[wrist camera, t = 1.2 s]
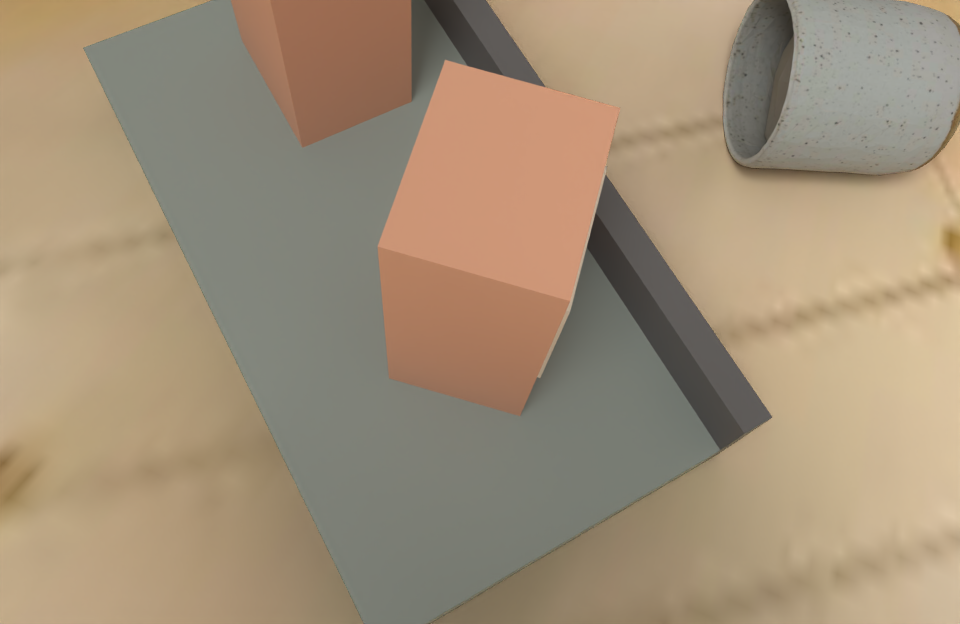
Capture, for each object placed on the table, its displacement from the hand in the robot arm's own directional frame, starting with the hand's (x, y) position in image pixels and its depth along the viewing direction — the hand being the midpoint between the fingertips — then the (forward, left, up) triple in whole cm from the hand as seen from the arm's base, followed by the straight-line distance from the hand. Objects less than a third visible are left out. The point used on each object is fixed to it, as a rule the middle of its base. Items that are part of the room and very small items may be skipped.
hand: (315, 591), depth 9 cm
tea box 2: (+8, +8, -21) cm, 24 cm away
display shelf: (+7, +13, -24) cm, 28 cm away
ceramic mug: (+28, +12, -24) cm, 39 cm away
